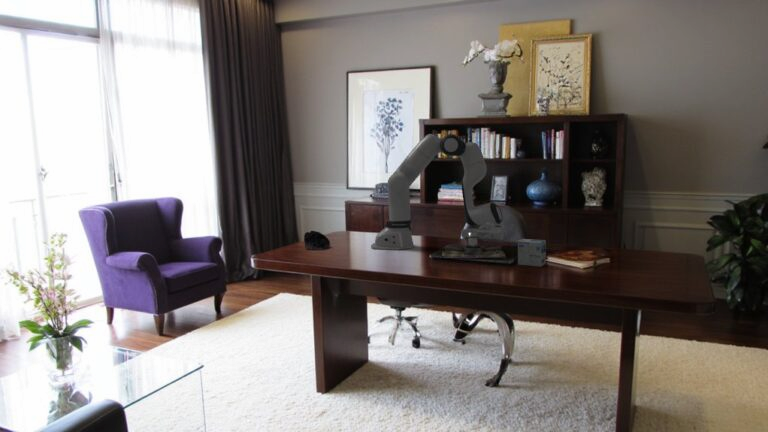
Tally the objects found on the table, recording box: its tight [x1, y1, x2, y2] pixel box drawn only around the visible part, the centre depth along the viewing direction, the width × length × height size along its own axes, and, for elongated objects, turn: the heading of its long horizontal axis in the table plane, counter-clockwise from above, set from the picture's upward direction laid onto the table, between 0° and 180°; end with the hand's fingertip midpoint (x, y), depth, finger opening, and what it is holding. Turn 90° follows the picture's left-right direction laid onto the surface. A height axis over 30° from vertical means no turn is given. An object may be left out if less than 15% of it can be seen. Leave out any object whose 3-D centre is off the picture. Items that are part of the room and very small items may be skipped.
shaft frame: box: [441, 244, 506, 257], centre depth 263 cm, size 29×10×5 cm, turn 82°
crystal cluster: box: [303, 230, 331, 251], centre depth 295 cm, size 13×14×10 cm
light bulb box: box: [517, 238, 547, 268], centre depth 244 cm, size 11×7×11 cm, turn 58°
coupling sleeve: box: [467, 232, 479, 249], centre depth 263 cm, size 5×5×10 cm
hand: (475, 236), depth 265 cm, fingers open, 8 cm apart
